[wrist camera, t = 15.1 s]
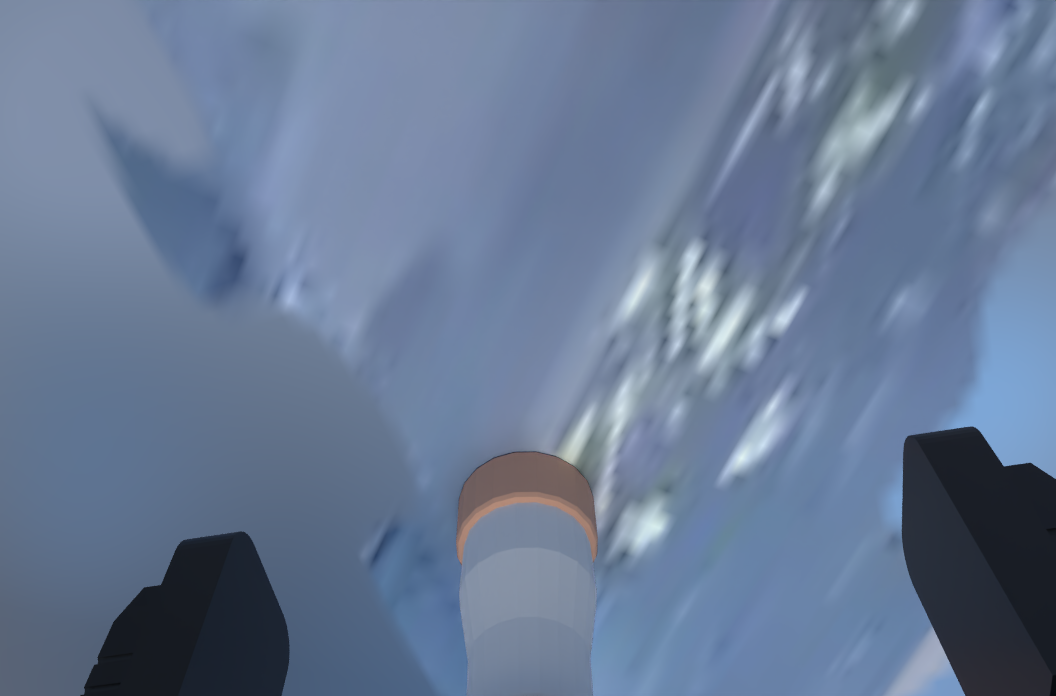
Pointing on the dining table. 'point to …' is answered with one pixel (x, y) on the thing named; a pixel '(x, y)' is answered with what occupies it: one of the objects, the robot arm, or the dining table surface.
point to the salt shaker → (527, 577)
